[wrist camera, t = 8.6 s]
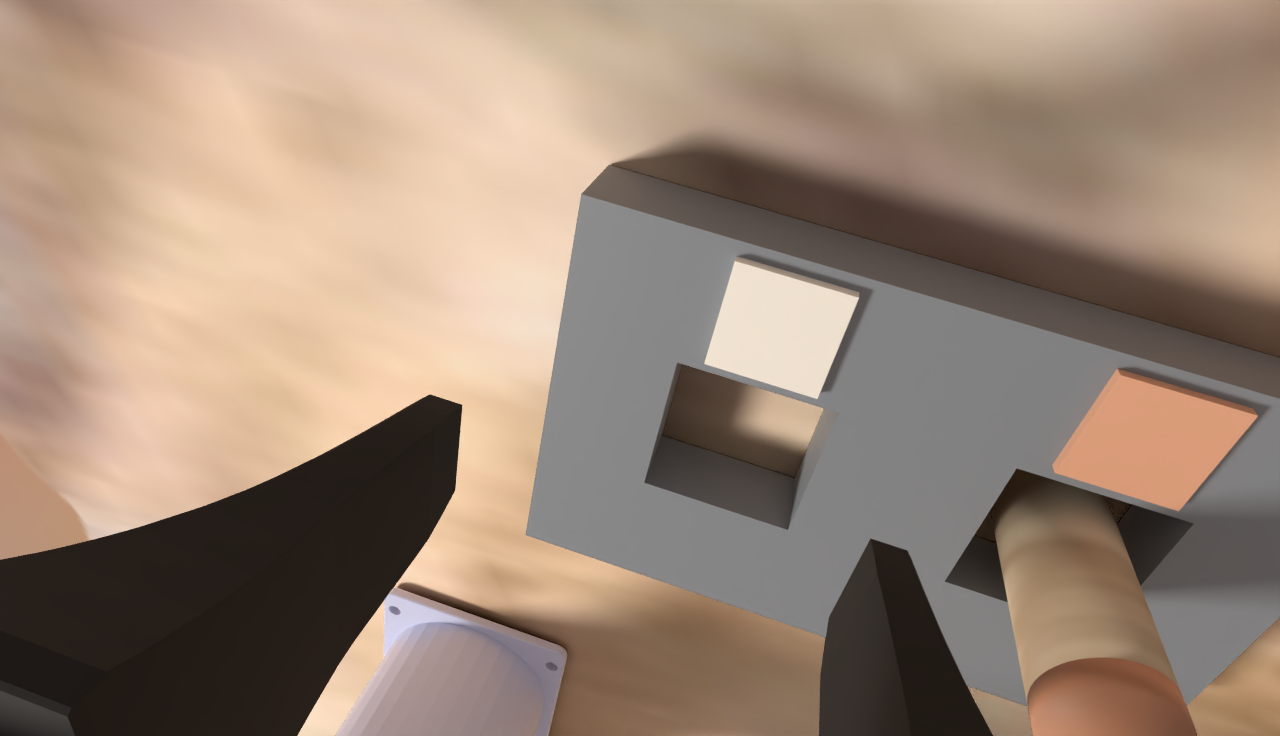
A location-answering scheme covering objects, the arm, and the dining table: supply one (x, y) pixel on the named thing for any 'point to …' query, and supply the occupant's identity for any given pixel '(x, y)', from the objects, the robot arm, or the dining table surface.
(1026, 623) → the plug
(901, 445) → the socket board
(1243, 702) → the dining table surface
